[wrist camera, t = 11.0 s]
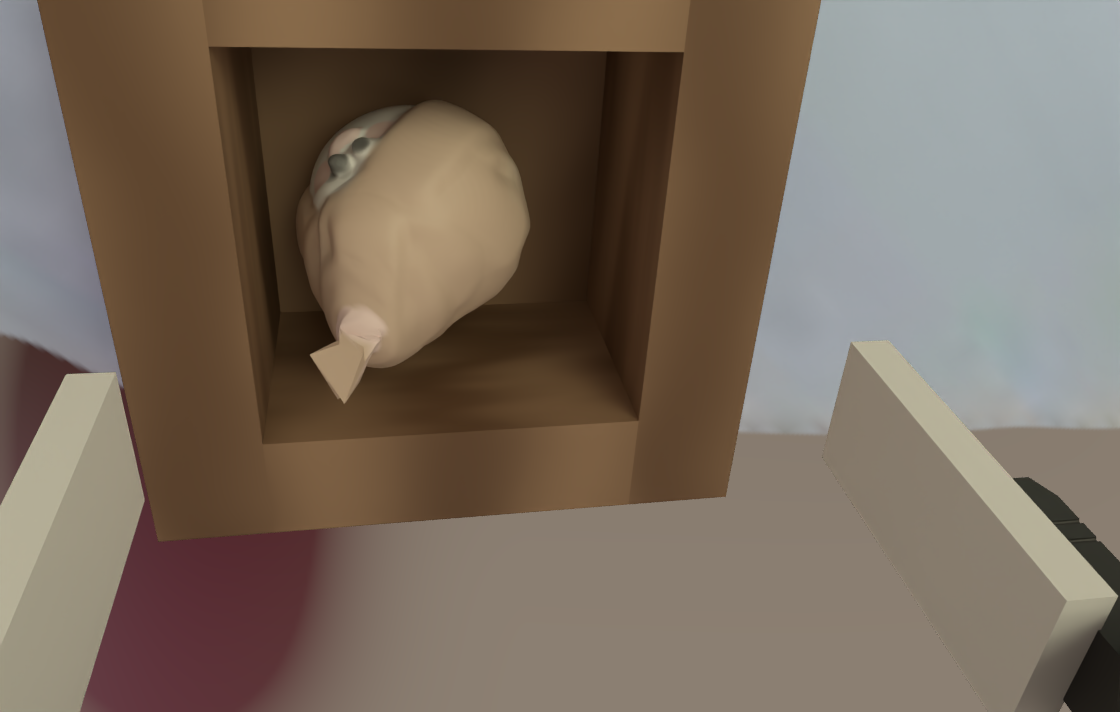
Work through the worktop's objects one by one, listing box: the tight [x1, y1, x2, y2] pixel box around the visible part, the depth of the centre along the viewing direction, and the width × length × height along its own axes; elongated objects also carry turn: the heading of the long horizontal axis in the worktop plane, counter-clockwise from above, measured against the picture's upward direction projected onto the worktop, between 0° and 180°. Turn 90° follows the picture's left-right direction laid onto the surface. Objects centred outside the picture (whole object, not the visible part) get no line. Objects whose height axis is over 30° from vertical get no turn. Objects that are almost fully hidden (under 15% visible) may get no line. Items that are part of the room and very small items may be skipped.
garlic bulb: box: [296, 100, 530, 404], centre depth 25 cm, size 7×6×8 cm
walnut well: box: [37, 0, 821, 542], centre depth 26 cm, size 16×16×8 cm
